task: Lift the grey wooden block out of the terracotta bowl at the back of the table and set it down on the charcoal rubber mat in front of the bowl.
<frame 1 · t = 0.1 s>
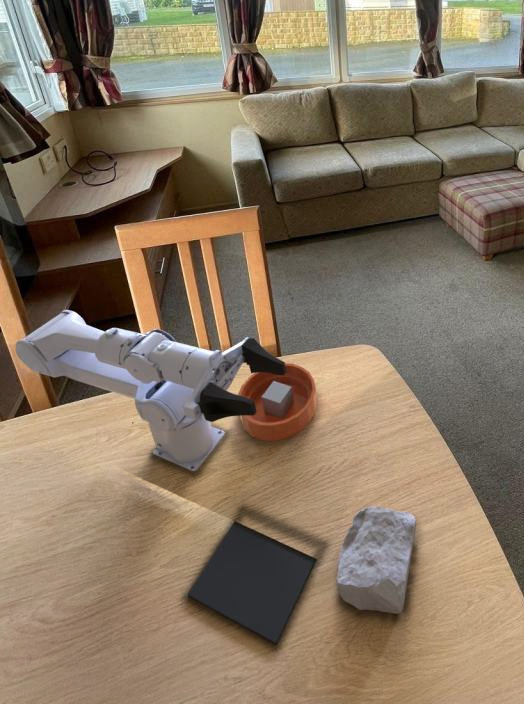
hand: (269, 387, 69), 22 cm above the table, tool horizontal, fingers open, 7 cm apart
block: (279, 407, 91), point 1 cm above the table, touching bowl
mat: (257, 570, 67), on the table
bowl: (279, 409, 91), on the table
stone block: (376, 562, 68), on the table
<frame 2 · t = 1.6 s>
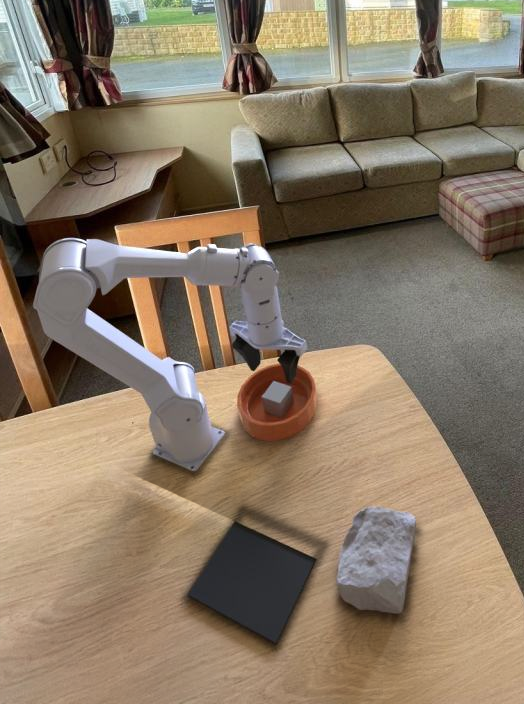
hand: (273, 372, 87), 9 cm above the table, tool pointing down, fingers open, 7 cm apart
nothing on the table moved.
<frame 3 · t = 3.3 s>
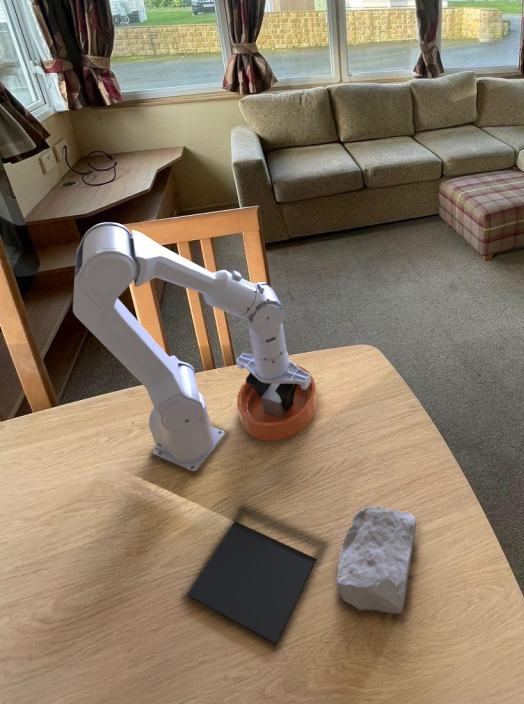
hand: (278, 403, 91), 2 cm above the table, tool pointing down, fingers closed on block, 4 cm apart
block: (279, 406, 91), point 1 cm above the table, touching bowl, gripper
everything else where it was.
when the fingers open (1 cm above the table, at t = 8.9 s): block stays where it is, resting on mat.
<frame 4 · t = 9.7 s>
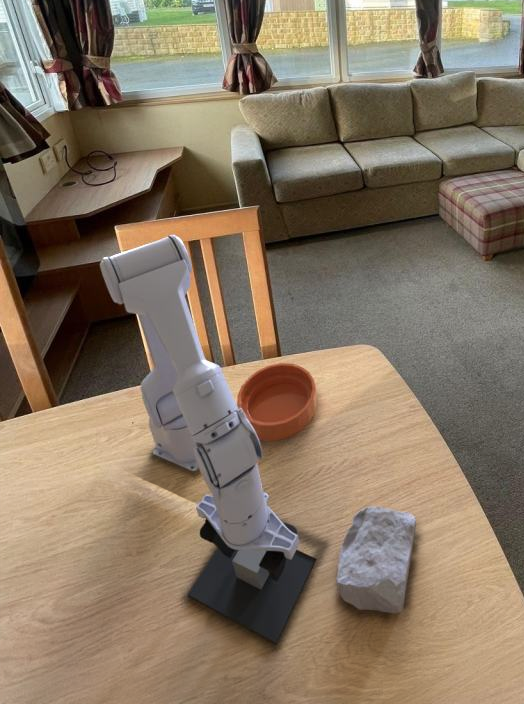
hand: (255, 561, 66), 2 cm above the table, tool pointing down, fingers open, 7 cm apart
block: (257, 568, 67), resting on mat
everything else where it was.
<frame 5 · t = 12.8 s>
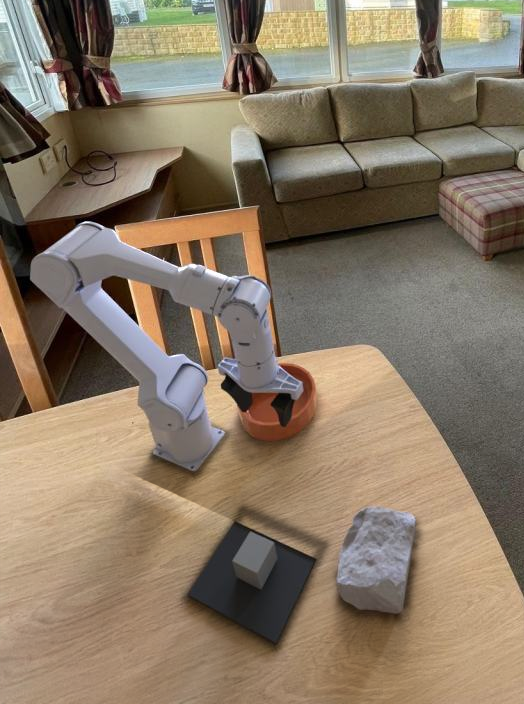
hand: (266, 414, 79), 9 cm above the table, tool pointing down, fingers open, 7 cm apart
nothing on the table moved.
at the end: block inside the target area on the mat (0.1 cm from its centre), point 0.4 cm above the mat's base; block tilted 0°; the gripper is holding nothing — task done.
